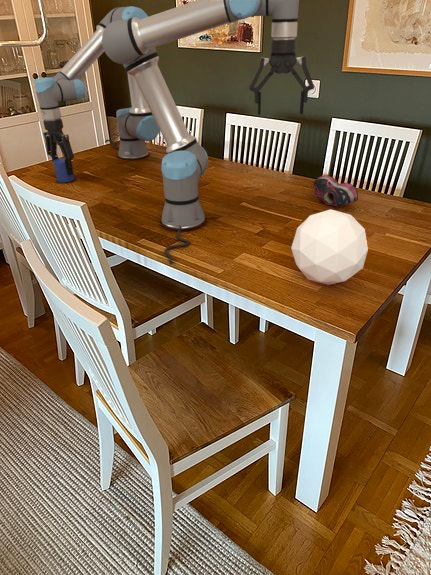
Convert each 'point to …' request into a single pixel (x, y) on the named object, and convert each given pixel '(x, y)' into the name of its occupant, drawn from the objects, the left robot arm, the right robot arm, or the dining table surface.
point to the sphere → (330, 247)
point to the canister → (62, 171)
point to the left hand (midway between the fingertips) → (64, 172)
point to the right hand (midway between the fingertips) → (280, 113)
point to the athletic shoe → (334, 191)
